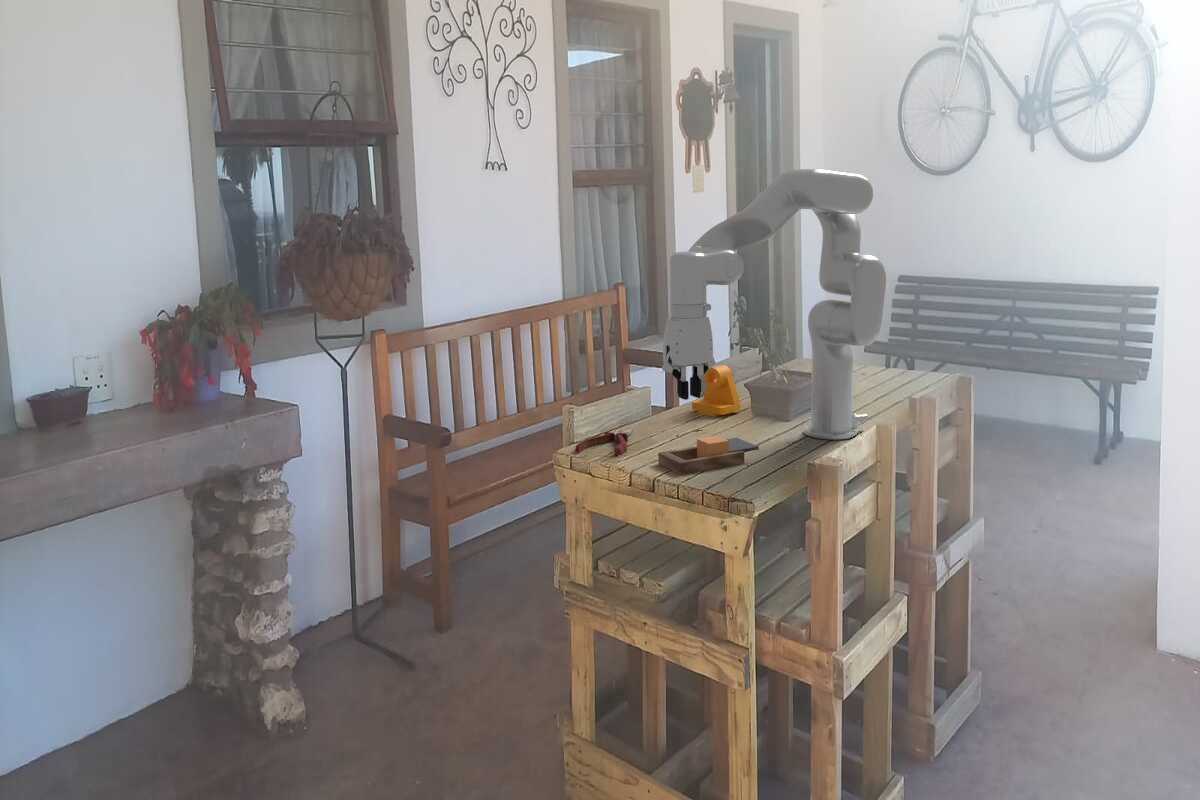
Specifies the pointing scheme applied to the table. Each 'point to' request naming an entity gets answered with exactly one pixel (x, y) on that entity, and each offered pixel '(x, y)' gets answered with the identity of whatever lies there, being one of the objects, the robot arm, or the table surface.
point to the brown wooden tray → (696, 460)
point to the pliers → (607, 441)
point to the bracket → (718, 393)
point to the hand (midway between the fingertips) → (689, 396)
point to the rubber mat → (740, 445)
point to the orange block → (712, 446)
